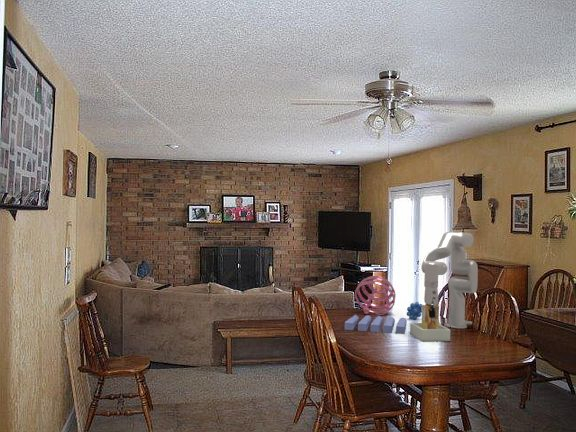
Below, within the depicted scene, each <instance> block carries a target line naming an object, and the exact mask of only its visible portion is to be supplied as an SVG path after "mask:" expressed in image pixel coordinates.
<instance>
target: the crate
mask: <svg viewBox="0 0 576 432" xmlns="http://www.w3.org/2000/svg"><path fill="white" fill-rule="evenodd" d="M421 325H422V322H410V323H409V334H410V335H411V337H414V338H415V339H417V340H419V342H425V343H426V342H427V343H429V342H430V343H431V342H432V343H433V342H434V343H435V341H436V342H437V343H439V342H438V341H450V342H451V329H449V327H447V326H443V325H442V324H438V329H422V328H421Z"/></svg>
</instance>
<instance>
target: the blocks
mask: <svg viewBox="0 0 576 432" xmlns="http://www.w3.org/2000/svg"><path fill="white" fill-rule="evenodd" d="M359 319H360V318H359V316H358V315H357V314H356V313H355V314H354V315H353V316H352V317H350V318H348V319H347V320H345V321H344V330H345V331H348V330H349V331H354V330H355V327H356V325H357V331H358V332H367V330H368V328H369V327H370V333H371V332H372V333H379V332H380V330H381V329H383V330H382V332H383V334H392V333H393V330H394V327H395V334H396V335H397V334H398V335H405V334H406V328H407V321H408V320H407V319H406V318H405V317H400V318H399V320H398V321H397V323H396V326H394V325H395V322H396V320H395V318H394V317H393V316H389V317H387V319H386V320H385V321H384V318H383V317H382V316H379V315H377V316H376V317H375V318H374V319H373V321H372V317H371V315H368V314H366V315H364V316H363V318H361V320H359ZM383 322H384V323H383ZM382 324H383V327H382ZM381 327H382V328H381Z"/></svg>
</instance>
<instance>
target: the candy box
mask: <svg viewBox="0 0 576 432" xmlns="http://www.w3.org/2000/svg"><path fill="white" fill-rule="evenodd" d="M431 308H432V306H431ZM429 310H430V305H426V304H422V313H421V323H422V325H421V328H422V329H438V324H439V321H440V320H439V319H440V318H439V316H440V315H439V314H440V305H439V304H438V305H436V308H435V318H430V317H429Z"/></svg>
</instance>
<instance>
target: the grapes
mask: <svg viewBox="0 0 576 432" xmlns="http://www.w3.org/2000/svg"><path fill="white" fill-rule="evenodd" d="M422 305H423V304H421V303H419V301H415V302H411V303H410V304H409V306H408V307H407V308H406V311H407V312H406V316H407V317H408V319H409V320H414V321H415V320H418V318H420V317H422Z"/></svg>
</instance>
